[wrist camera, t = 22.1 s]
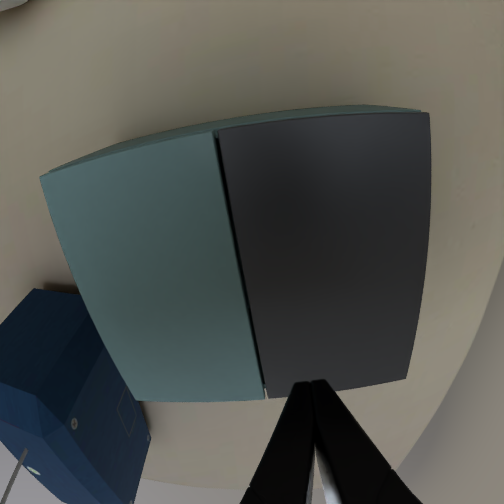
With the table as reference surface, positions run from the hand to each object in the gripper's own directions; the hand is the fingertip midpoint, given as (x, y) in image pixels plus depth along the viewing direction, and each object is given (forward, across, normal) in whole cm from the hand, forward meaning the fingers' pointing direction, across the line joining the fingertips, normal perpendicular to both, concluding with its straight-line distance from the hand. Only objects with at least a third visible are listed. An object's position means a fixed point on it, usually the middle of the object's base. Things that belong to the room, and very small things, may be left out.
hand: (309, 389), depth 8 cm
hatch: (+5, -2, 0) cm, 5 cm away
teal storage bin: (+13, +2, 0) cm, 13 cm away
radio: (+13, +19, +13) cm, 27 cm away
